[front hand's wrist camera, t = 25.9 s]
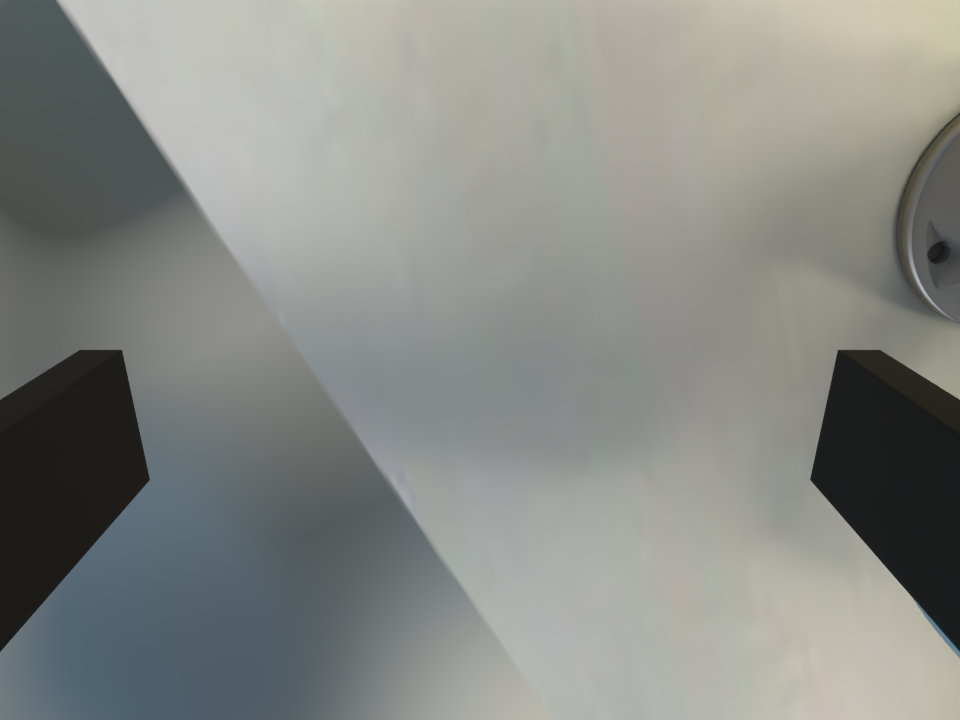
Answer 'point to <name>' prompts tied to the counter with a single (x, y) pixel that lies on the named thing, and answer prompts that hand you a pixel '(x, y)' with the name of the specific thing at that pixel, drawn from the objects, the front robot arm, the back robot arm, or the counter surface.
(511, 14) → the counter surface
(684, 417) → the counter surface
